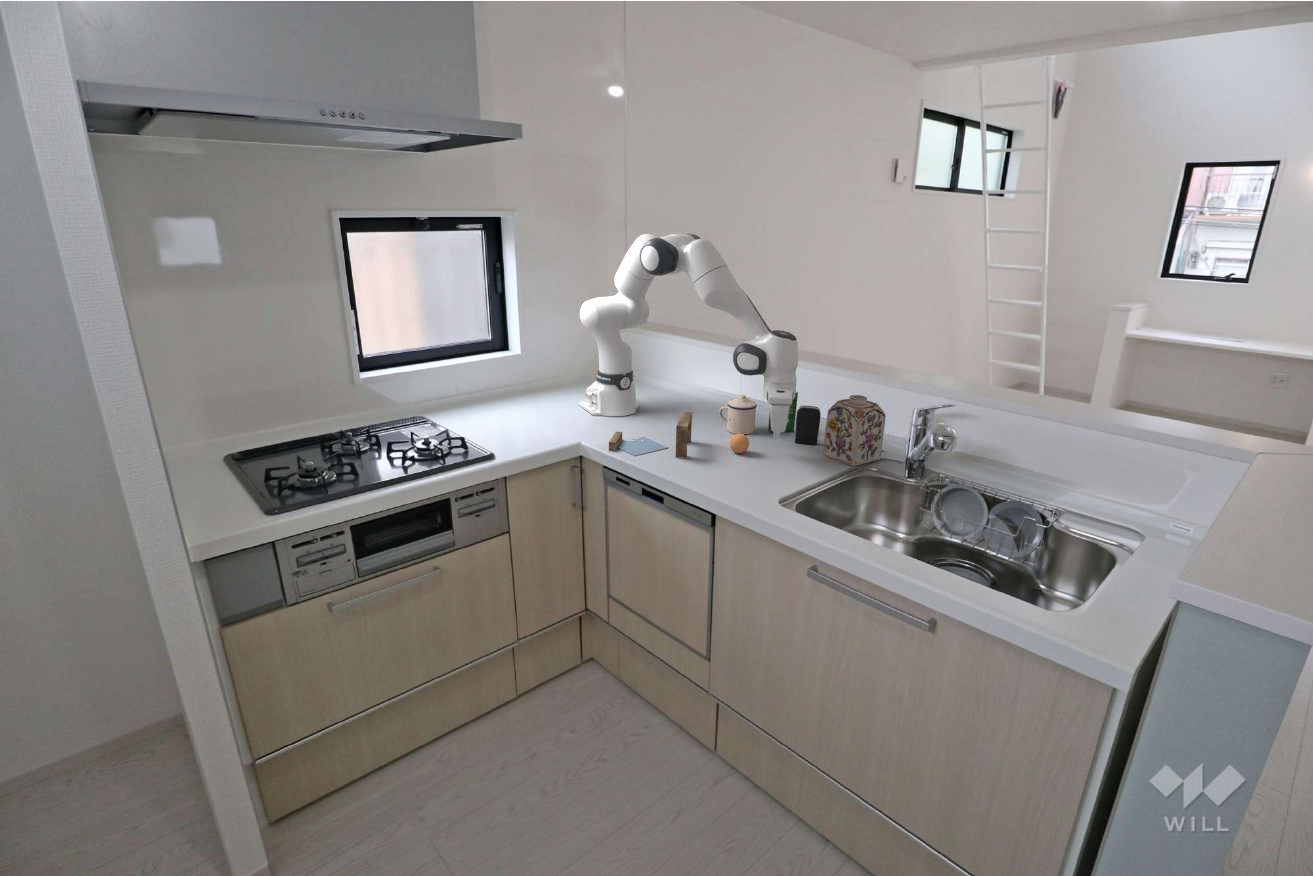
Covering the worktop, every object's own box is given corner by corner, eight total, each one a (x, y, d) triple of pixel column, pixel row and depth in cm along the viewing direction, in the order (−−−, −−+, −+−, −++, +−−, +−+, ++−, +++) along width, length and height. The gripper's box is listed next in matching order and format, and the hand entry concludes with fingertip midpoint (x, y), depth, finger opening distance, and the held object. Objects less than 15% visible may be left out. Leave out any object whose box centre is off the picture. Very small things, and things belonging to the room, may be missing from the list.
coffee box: (791, 429, 216) (794, 389, 212) (795, 432, 213) (798, 391, 209) (767, 430, 214) (770, 390, 210) (770, 433, 212) (773, 392, 207)
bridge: (675, 457, 190) (676, 425, 187) (681, 440, 203) (682, 411, 200) (686, 458, 189) (687, 426, 186) (691, 441, 203) (692, 411, 200)
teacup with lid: (758, 429, 216) (761, 393, 212) (749, 437, 208) (752, 400, 204) (723, 423, 221) (725, 389, 217) (713, 431, 213) (714, 395, 209)
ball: (725, 451, 195) (726, 433, 193) (739, 448, 198) (740, 430, 196) (738, 457, 190) (739, 438, 189) (752, 453, 194) (753, 435, 192)
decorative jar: (853, 467, 184) (860, 404, 179) (821, 455, 193) (827, 394, 188) (882, 459, 191) (890, 398, 185) (850, 448, 200) (856, 389, 194)
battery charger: (818, 441, 204) (821, 405, 201) (817, 445, 201) (821, 409, 197) (794, 439, 206) (797, 403, 202) (793, 443, 203) (797, 407, 199)
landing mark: (611, 444, 199) (611, 444, 199) (644, 437, 206) (644, 436, 206) (634, 456, 190) (634, 455, 190) (668, 448, 197) (668, 447, 197)
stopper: (608, 450, 194) (608, 442, 193) (615, 439, 204) (615, 431, 203) (615, 450, 194) (615, 442, 193) (622, 439, 203) (622, 431, 203)
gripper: (767, 381, 197) (764, 426, 201) (768, 399, 178) (765, 448, 182) (789, 382, 196) (786, 427, 200) (792, 400, 177) (789, 450, 181)
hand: (776, 438), depth 191 cm, fingers closed
